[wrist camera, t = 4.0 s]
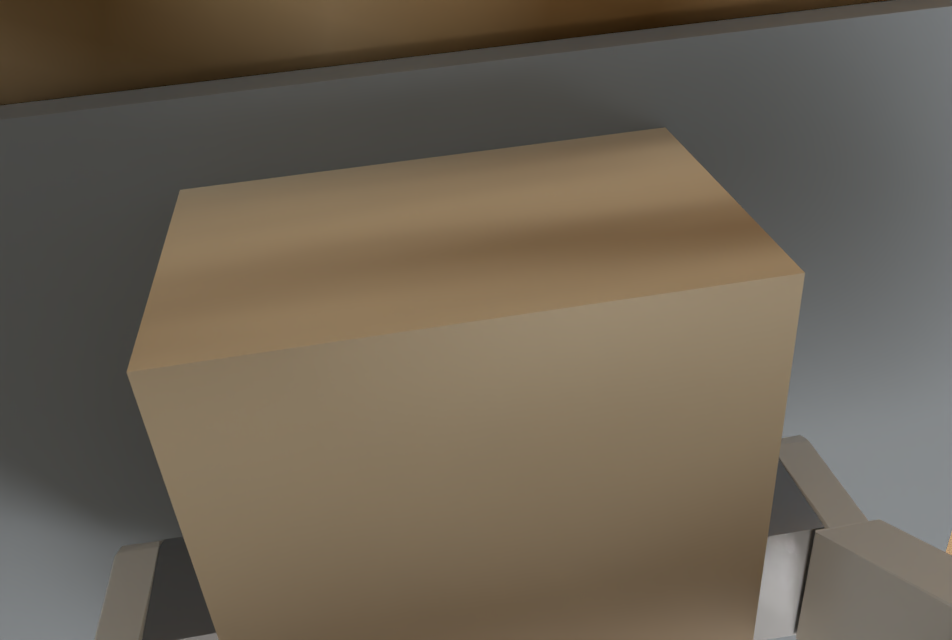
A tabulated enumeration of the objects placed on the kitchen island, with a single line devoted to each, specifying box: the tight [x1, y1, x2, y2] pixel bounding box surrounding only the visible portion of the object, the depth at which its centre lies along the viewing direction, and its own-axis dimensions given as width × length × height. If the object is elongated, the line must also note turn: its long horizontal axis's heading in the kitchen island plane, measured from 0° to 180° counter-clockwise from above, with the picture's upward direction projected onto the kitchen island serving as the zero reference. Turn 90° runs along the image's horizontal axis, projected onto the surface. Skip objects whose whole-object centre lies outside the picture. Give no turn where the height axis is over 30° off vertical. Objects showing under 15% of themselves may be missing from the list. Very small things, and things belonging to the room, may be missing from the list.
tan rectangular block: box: [127, 127, 805, 640], centre depth 11 cm, size 9×6×4 cm, turn 4°
